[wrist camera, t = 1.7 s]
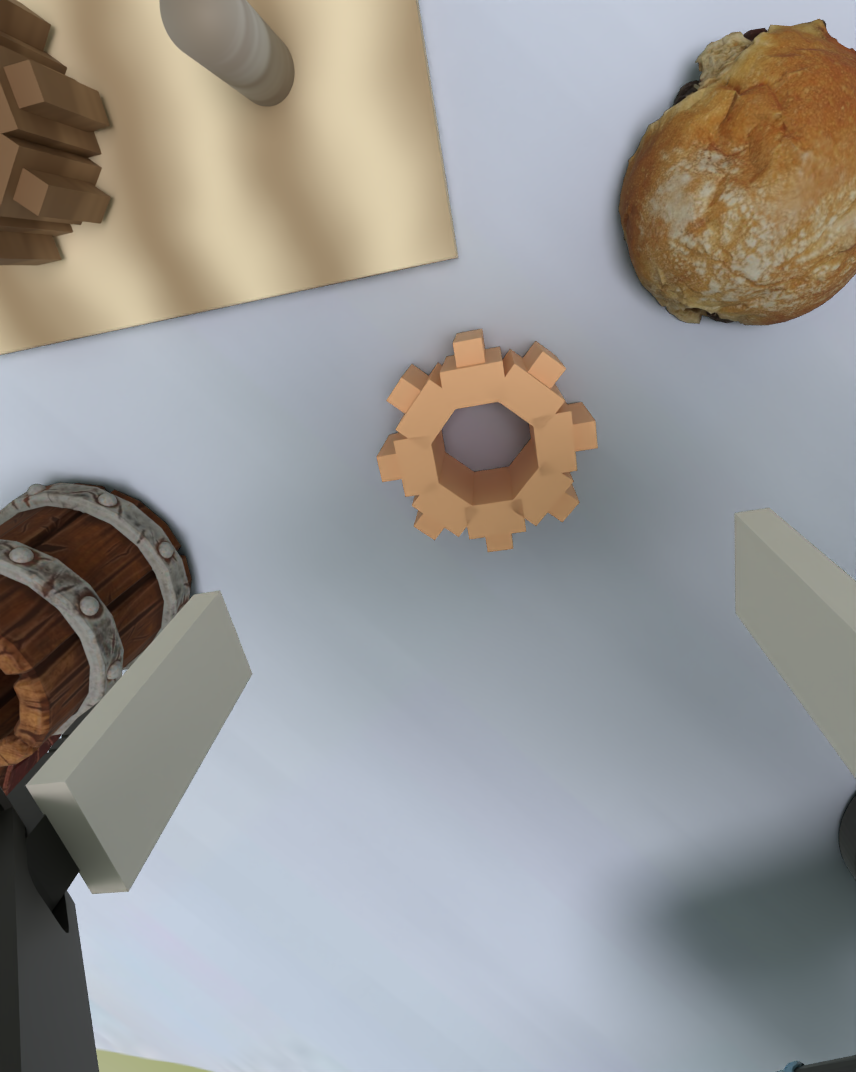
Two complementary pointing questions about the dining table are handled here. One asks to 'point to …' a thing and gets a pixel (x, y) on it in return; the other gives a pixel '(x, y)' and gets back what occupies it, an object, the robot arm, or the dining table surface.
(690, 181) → the bread roll
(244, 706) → the dining table surface
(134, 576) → the mug
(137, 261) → the peg board
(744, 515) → the robot arm
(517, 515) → the gear
